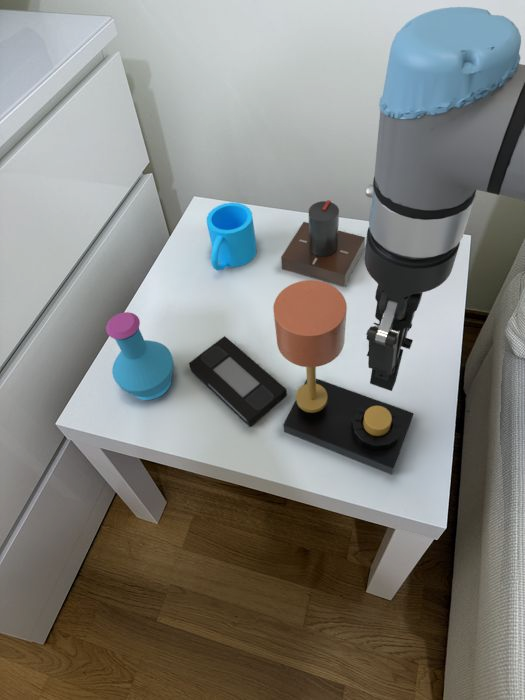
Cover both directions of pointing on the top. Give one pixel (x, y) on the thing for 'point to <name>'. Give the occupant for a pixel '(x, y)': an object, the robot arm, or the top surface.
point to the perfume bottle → (139, 359)
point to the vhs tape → (238, 380)
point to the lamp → (310, 333)
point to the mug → (231, 235)
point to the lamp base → (350, 428)
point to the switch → (377, 420)
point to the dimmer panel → (325, 267)
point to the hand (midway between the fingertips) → (382, 382)
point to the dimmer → (323, 228)
